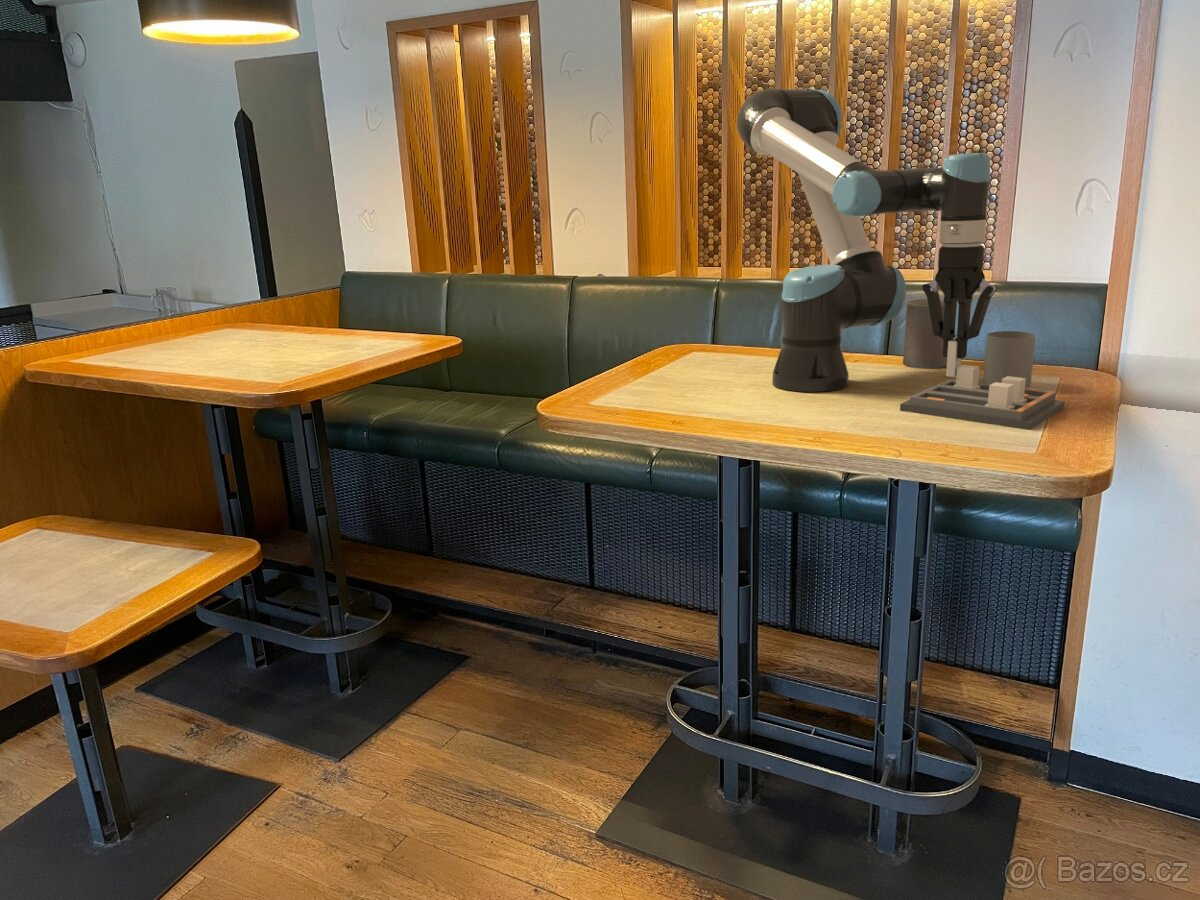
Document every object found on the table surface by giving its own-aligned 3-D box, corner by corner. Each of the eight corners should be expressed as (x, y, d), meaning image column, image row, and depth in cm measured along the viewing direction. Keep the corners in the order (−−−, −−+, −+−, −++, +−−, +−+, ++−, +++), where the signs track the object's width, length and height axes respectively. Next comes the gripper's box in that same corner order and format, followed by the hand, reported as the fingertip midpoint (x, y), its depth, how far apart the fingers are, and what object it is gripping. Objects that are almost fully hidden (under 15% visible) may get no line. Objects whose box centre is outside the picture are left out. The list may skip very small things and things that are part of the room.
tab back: (952, 392, 160) (954, 366, 158) (958, 389, 162) (960, 364, 160) (974, 395, 157) (976, 369, 156) (980, 392, 159) (982, 366, 158)
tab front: (983, 412, 146) (986, 384, 144) (990, 409, 147) (992, 381, 146) (1008, 416, 143) (1010, 387, 141) (1014, 412, 145) (1017, 384, 143)
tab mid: (996, 405, 149) (998, 378, 148) (1002, 402, 151) (1004, 375, 150) (1020, 409, 147) (1023, 381, 145) (1026, 405, 149) (1029, 378, 147)
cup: (1034, 390, 163) (1040, 338, 161) (988, 390, 165) (993, 338, 162) (1023, 380, 171) (1028, 330, 168) (979, 380, 173) (983, 331, 170)
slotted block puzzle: (899, 410, 154) (900, 395, 154) (940, 391, 166) (941, 377, 165) (1029, 429, 140) (1031, 412, 139) (1064, 407, 151) (1066, 392, 150)
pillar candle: (899, 360, 195) (902, 293, 191) (944, 359, 194) (949, 292, 189) (907, 369, 186) (911, 300, 182) (955, 368, 185) (960, 298, 180)
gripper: (916, 246, 155) (910, 375, 162) (990, 246, 146) (980, 382, 153) (935, 243, 160) (928, 368, 167) (1007, 243, 152) (997, 375, 158)
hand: (953, 375), depth 160 cm, fingers closed
